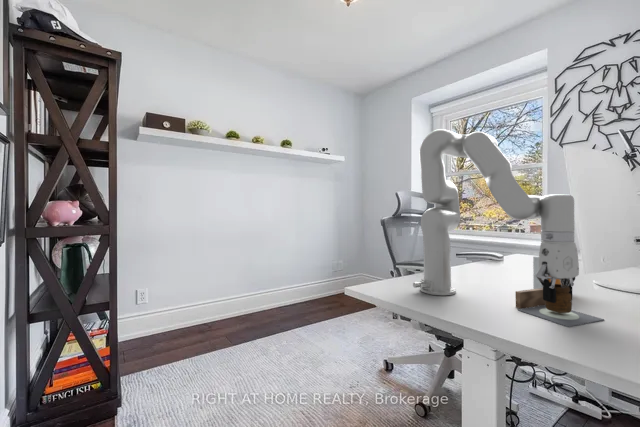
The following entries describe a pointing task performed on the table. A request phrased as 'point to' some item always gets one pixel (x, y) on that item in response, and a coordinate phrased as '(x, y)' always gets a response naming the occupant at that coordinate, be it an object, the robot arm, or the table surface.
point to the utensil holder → (561, 299)
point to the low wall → (529, 298)
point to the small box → (535, 270)
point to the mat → (561, 316)
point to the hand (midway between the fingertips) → (557, 299)
